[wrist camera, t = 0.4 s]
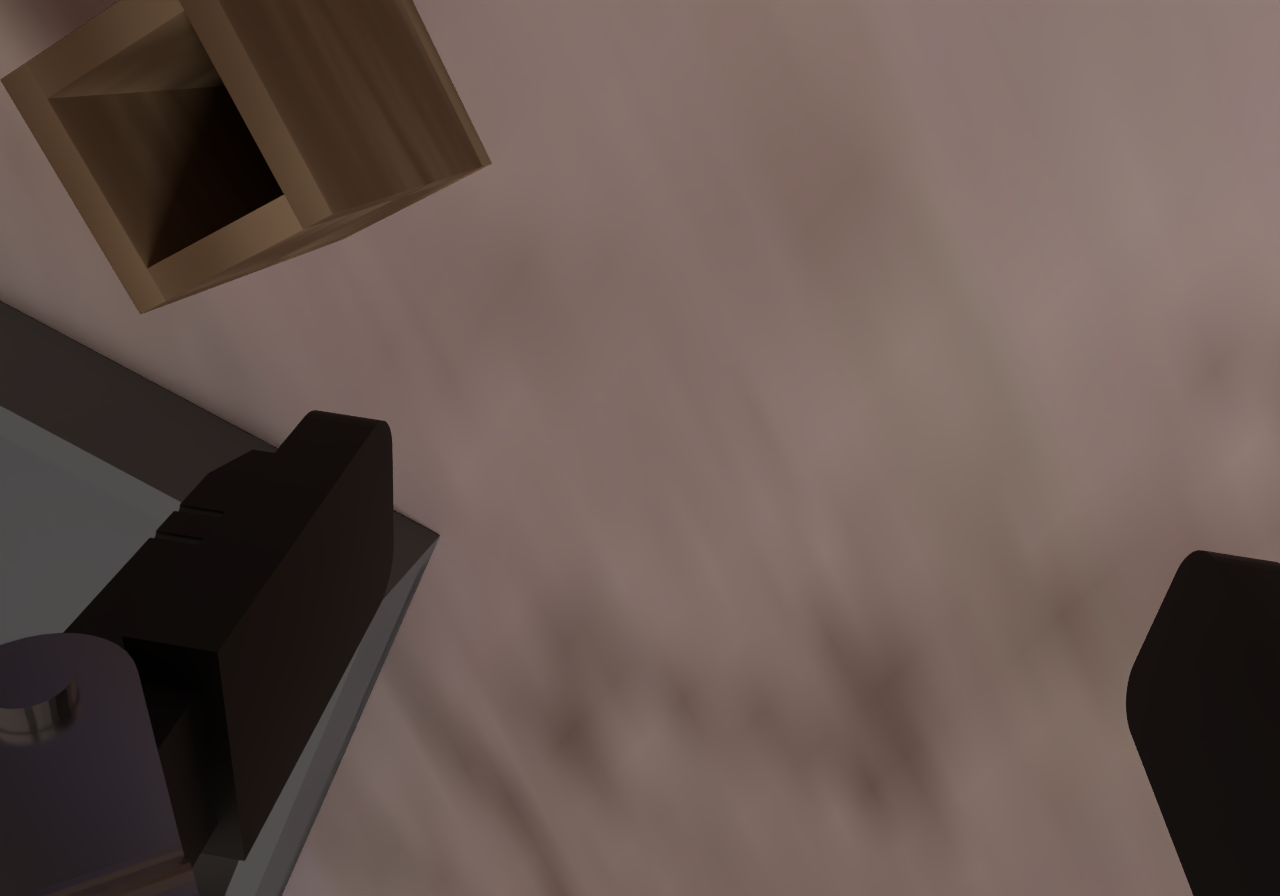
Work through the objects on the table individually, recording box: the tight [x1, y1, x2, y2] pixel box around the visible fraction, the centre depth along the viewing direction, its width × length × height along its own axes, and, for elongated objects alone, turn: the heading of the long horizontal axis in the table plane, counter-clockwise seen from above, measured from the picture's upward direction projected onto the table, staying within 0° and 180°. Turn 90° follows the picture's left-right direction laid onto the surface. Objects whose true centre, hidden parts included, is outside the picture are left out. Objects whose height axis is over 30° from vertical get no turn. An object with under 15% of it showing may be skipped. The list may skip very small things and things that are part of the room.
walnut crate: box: [1, 0, 492, 314], centre depth 27 cm, size 6×6×10 cm
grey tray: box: [0, 302, 440, 896], centre depth 39 cm, size 22×20×5 cm
